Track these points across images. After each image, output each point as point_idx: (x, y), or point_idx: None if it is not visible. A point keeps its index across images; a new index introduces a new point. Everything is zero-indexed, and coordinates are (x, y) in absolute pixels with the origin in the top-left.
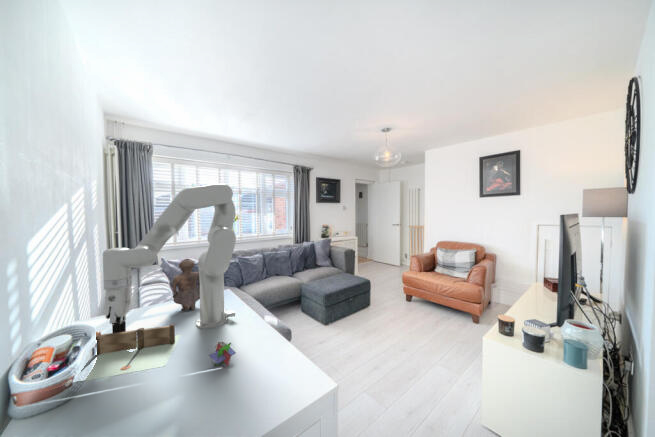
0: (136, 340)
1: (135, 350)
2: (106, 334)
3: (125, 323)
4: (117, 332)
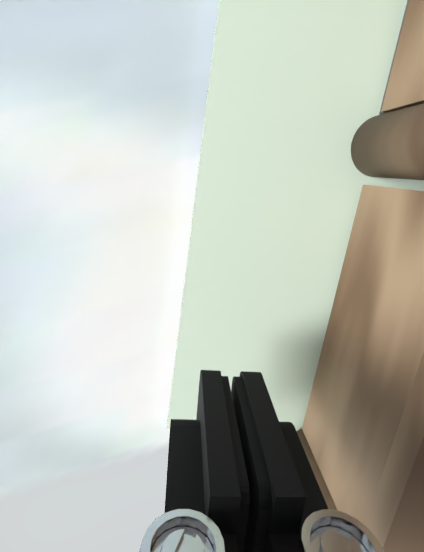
0: (414, 190)
1: (401, 186)
2: (401, 545)
3: (214, 453)
4: (421, 450)
